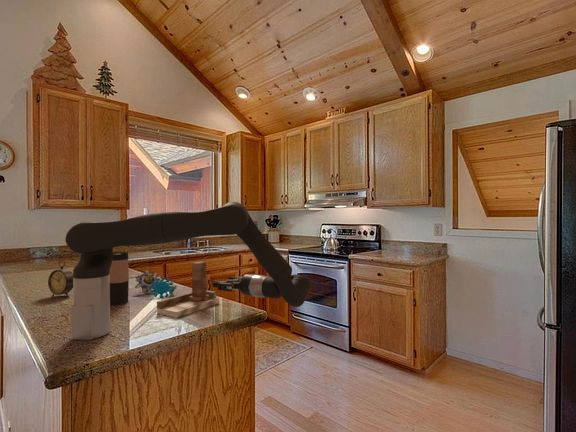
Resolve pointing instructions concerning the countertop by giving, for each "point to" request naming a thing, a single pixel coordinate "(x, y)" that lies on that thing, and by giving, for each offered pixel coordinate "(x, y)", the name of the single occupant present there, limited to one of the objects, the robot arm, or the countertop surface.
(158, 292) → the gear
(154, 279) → the passion flower
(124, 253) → the travel mug
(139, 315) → the countertop surface
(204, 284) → the panel
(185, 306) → the board
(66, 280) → the alarm clock
